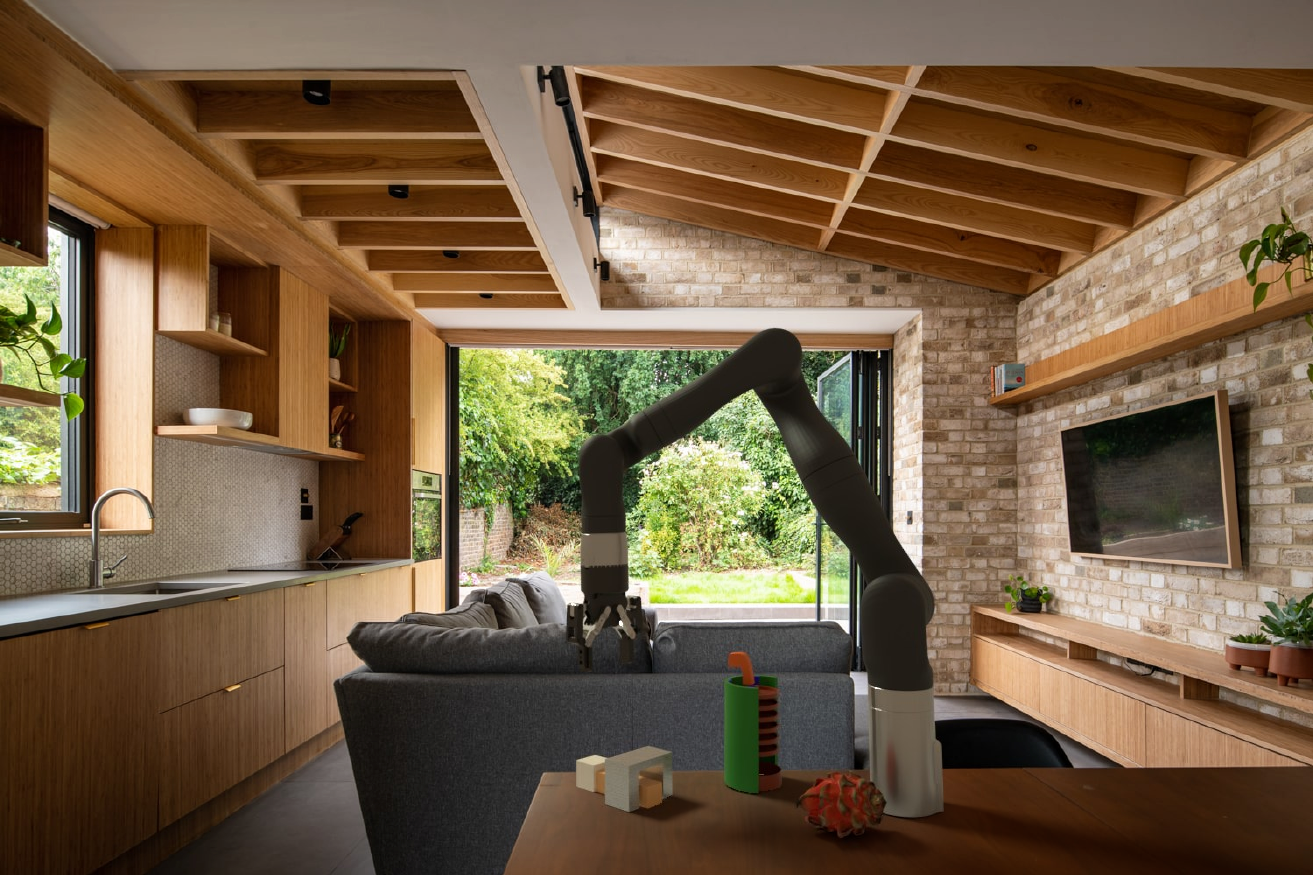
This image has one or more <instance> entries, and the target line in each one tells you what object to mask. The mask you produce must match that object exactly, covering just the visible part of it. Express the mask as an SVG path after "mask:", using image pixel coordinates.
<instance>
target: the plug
mask: <svg viewBox="0 0 1313 875" xmlns="http://www.w3.org/2000/svg"><path fill="white" fill-rule="evenodd" d="M607 758H608V757H604V756H601V755H597V754H593V755H589V756H586V757H583V758H580V759H576V760H575V761H576V762H575V766H576V767H575V772H576V774H575V776H576V778H575V781H576V783H575V784H576V786H575V787H576V788H580V789H583V790H585V791H589V792H592V793H600V794H602V795H605V759H607ZM660 803H661V804H662V803H663V799H662V782H659V781H656V780H652V779H649V778H646V777H642V776H639V807H643V808H645V809H651V808H653V807H655V805H656V806H657V805H658V806H659V805H661V804H660Z"/></svg>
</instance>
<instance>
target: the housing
mask: <svg viewBox="0 0 1313 875" xmlns="http://www.w3.org/2000/svg"><path fill="white" fill-rule="evenodd" d="M606 758H607V759H605V794H604V804H605V805H608V806H611V807H613V808H615V809H618V810H622V811H625V812H626V813H627V812H628V813H630V812H633V811H636V810H639V809H640V806H639V776H642V777H646V778H649V779H652V780H656V781H659V782H662V800H665V799H668V798H669V797H668V796H671V795H673V794H674V793H673V751H670V750H665V749H662V748H659V747H654V746H650V745H647V746H643V747H640V748H637V749H633V750H630V751H627V752H624V753H621V754H620V753H619V754H617V755H614V756H611V757H606ZM667 797H668V798H667ZM671 797H672V796H671Z"/></svg>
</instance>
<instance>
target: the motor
mask: <svg viewBox="0 0 1313 875" xmlns="http://www.w3.org/2000/svg"><path fill="white" fill-rule="evenodd" d="M728 668H740V669H741V672H742V675H735V676H730V677H727V678H725V679H724V682H723V684H724V689H723V690H724V692H723V693H724V696H723V697H724V703H723V704H724V708H723V709H724V721H723V723H724V724H723V725H724V726H723V727H724V734H723V735H724V742H723V744H724V748H723V750H724V751H723V752H724V754H723V755H724V758H723V760H724V767H723V768H724V770H723V771H724V773H723V774H724V775H723V776H724V779H723V780H724V781H725V783H726V784H727V785H728V786H729V787H732V788H735V789H737V790H740V791H744V792H749V793H748V794H751V793H759V792H769V791H768V790H770V791H774V790H773V789H775V790H777V789H776V788H778V789H779V788H781V787H782V784H783V783H782V781H783V780H782V778H783V777H782V776H783V774H782V770H783V769H782V767H781V766H780V765H779V758H778V757H779V753H780V745H779V742H780V734H779V731H780V723H779V722H778V720H779V719H780V712H779V711H778V710H779V708H780V701H779V700H778V697H779V696H780V690H779V689H778V685H779V684H778V683H779V682H778V676H772V675H771V676H770V675H762V674H761V675H759V674H754V669H753V664H752V661H751V658H750V656H749V655H748V654H747V653H746V652H745V651H731V653H729V654H728ZM759 774H764V775H759ZM725 783H724V784H725ZM729 787H728V788H729ZM740 791H739V792H740ZM744 792H743V793H744ZM759 794H760V793H759Z"/></svg>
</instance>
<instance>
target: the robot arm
mask: <svg viewBox="0 0 1313 875" xmlns="http://www.w3.org/2000/svg"><path fill="white" fill-rule="evenodd" d="M803 353H804V352H803V348H802V344H801V342H800V341H799V339H798V338H797V336H796V335H795V334H794V333H792V332H791V331H789V330H787V329H786V328H785V329H784V328H781V327H780V328H779V327H769V328H766V329H763V330H761V331H759V332H757V333H756V334H755V335H753V336H752V337H751V338H750V339H748V340H747V341H745V343H743V344H742V345H741V346H739V347H738V348H736V350H735V351H733V352H732V353H731V354H730V355H728V356H726V357H725V358H724V359H723V360H722V361H720V362H719V363H717V364H716V365H714V366H713V367H712V368H710V369H709V370H707V371H706V372H705V373H703V374H702V375H700V376H698V377H697V378H696V379H694V380H692V381H690V382H688V383H687V384H686V385H684V386H683V387H681V388H679V389H677V390H675V391H674V392H672V393H670V394H669V395H667V396H664V397H663V398H661V399H659V400H658V401H656V402H654V403H652V404H651V405H649V406H647V407H645V408H643V409H642V410H640V411H639V412H637V413H635V414H634V415H632V416H631V417H630V418H629V420H627V422H625V423H624V424H621V425H620V426H618V427H617V428H615V429H612V430H611V431H609V432H607V433H605V434H601V433H599V434H595V435H592V436H590V437H588V438H587V439H586V440H585V441H584V442H583V443H582V445H581V446H580V449H579V452H578V474H579V475H578V476H579V484H580V485H579V486H580V493H581V512H580V513H581V514H580V515H581V516H580V517H581V521H580V522H581V538H580V539H581V540H580V546H579V547H580V549H579V550H580V552H579V555H580V556H579V558H580V590H581V593H582V594H583V601H582V603H579V602H578V603H577V602H569V603H568V604H567V605H566V627H565V628H566V631H565V632H566V634H565V641H566V642H567V643H569V644H572V645H575V646H576V647H577V666H578V668H579V670H580V671H581V672H584V673H589V672H592V671H593V670H594V664H593V663H594V661H593V657H594V656H593V646H592V644H593V642H594V640H595V638H596V636H598V635H599V634H600V633H601V630H604V629H608V628H613V629H615V631H616V632H617V634H618V635H619V637H620V638H619V642H618V643H619V644H618V645H619V662H620V663H622V664H631V663H633V659H634V656H635V654H634V639H635V638H636V636H637V635H638V634H642V633H644V632H643V631H644V624H643V606H642V597H641V596H640V595H630V594H629V595H627V594H626V593H627V592H628V591H629V589H630V586H629V585H630V583H629V582H630V581H629V579H630V578H629V576H630V575H629V545H628V540H627V539H628V538H627V533H626V532H627V523H626V522H627V521H626V520H627V518H626V517H627V516H626V505H625V501H624V496H623V495H624V492H623V491H624V484H623V483H624V472H626V471H627V470H629V469H631V468H632V467H634V466H635V465H637V464H638V463H639V462H642V461H643V460H644V459H646V458H647V457H648V456H650V455H653V454H655V453H657V452H659V451H661V450H663V449H665V448H667V447H669V446H671V445H673V444H674V443H675V442H678V441H679V440H681V439H684V437H686V436H688V435H689V434H690V433H693V431H695V430H697V429H698V428H699V427H700V426H701V425H703V424H704V423H706V421H708V420H709V419H710V418H712V416H714V415H715V414H716V413H717V412H718V411H720V409H722V408H723V407H725V406H726V405H727V404H729V403H730V402H732V401H733V400H735V399H736V398H738V397H740V396H741V395H743V394H746V393H748V392H749V391H754V393H755V395H756V396H757V397H758V399H759V400H760V402H761V403H762V405H763V406H764V408H765V410H766V411H767V412H768V414H769V416H770V417H771V419H772V420H773V422H774V423H775V425H776V427H777V429H778V432H779V433H780V435H781V438H782V440H783V443H784V446H785V448H786V450H787V453H788V455H789V457H790V460H791V462H792V465H793V467H794V469H795V471H796V473H797V476H798V477H799V480H800V481H801V482H800V483H801V484H802V485H803V487H804V490H805V492H806V494H807V495H808V497H809V500H810V501H811V503H812V505H813V506H814V508H815V510H816V511H817V513H818V514H819V516H820V517H821V518H822V520H823V521H824V522H825V523H826V525H827V526H828V528H830V529H831V531H832V532H833V534H835V535H836V537H837V538H838V539H839V540H840V541H841V543H842V544H844V546H845V547H846V548H847V550H849V552H850V553H851V555H852V556H853V558H854V560H855V562H856V564H857V565H858V567H859V569H860V572H861V574H862V576H863V577H864V581H865V582H866V585H867V586H866V587H865V588H864V590H863V593H862V597H861V600H860V601H861V602H860V630H861V631H860V632H861V647H862V648H861V650H862V658H863V661H862V662H863V664H864V667H865V670H866V674H867V704H868V706H867V708H868V711H867V712H868V738H869V739H868V742H869V743H868V744H869V777H870V780H869V781H872V782H873V783H874V784H875V786H876V789H878V790H880V791H881V793H882V794H883V796H884V799H885V800H886V802H887V803H886V806H885V808H884V811H883V814H886V815H891V816H895V817H902V818H922V817H928V816H932V815H934V814H936V813H942V812H944V786H943V785H944V784H943V758H942V743H941V742H940V741H939V740H937V738H936V724H935V719H936V718H935V696H934V685H935V684H934V670H933V667H932V665H931V663H930V661H929V660H930V659H929V655H928V641H927V640H928V637H927V626H928V625H929V624H930V622H931V621H932V619H933V618H934V614H935V608H936V606H935V597H934V593H933V591H932V589H931V586H930V585H929V583H928V581H926V579H925V578H924V577H923V575H922V573H921V571H919V569H918V568H917V566H916V565H915V563H914V562H913V560H912V559H911V557H910V556H909V554H908V553H907V551H906V550H905V548H904V547H903V546H902V543H901V542H900V541H899V539H898V536H897V535H896V534H895V533H894V530H893V528H892V526H891V524H890V522H889V519H888V517H887V515H886V514H885V511H884V508H883V507H882V504H881V502H880V500H879V498H878V497H877V495H876V493H875V490H874V489H873V487H872V485H871V483H870V481H869V478H868V477H867V475H866V473H865V471H864V469H863V467H862V465H861V463H860V461H859V460H858V458H857V456H856V454H855V453H854V451H853V449H852V448H851V446H850V445H849V444H848V442H847V440H845V438H844V437H843V436H842V434H841V433H840V432H839V431H838V430H837V429H836V427H834V426H833V424H831V423H830V421H829V420H828V419H827V418H826V417H825V415H824V414H823V413H822V412H821V410H820V408H819V407H818V405H817V403H816V402H815V400H814V398H813V395H812V392H811V391H810V389H809V387H808V383H807V382H806V379H805V377H804V373H803V371H802V367H803V366H802V365H803V355H804V354H803Z"/></svg>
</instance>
